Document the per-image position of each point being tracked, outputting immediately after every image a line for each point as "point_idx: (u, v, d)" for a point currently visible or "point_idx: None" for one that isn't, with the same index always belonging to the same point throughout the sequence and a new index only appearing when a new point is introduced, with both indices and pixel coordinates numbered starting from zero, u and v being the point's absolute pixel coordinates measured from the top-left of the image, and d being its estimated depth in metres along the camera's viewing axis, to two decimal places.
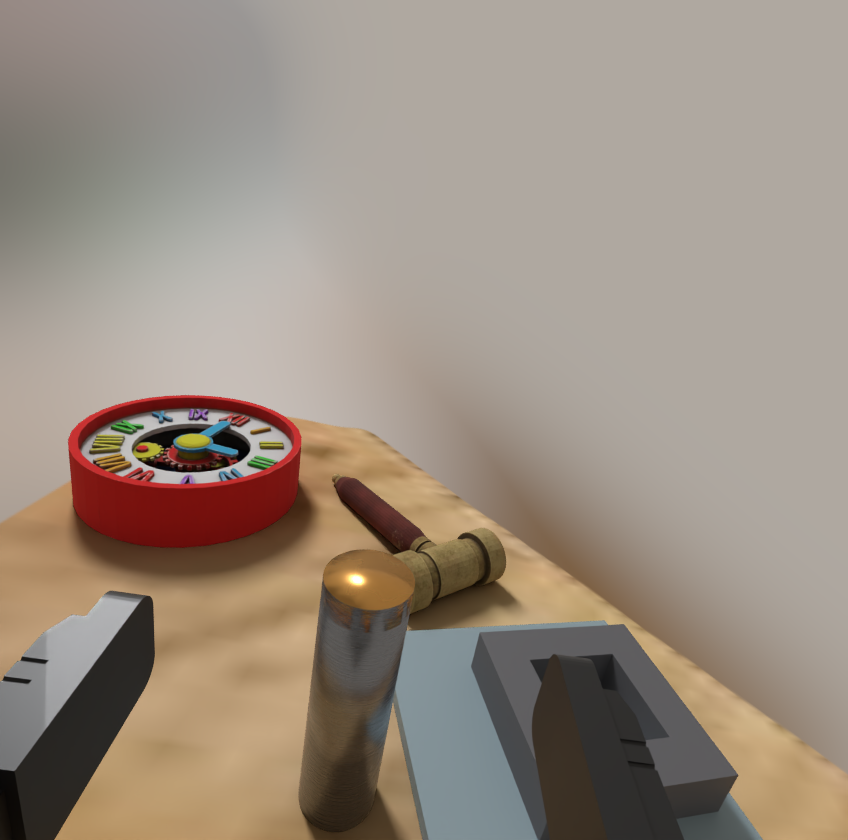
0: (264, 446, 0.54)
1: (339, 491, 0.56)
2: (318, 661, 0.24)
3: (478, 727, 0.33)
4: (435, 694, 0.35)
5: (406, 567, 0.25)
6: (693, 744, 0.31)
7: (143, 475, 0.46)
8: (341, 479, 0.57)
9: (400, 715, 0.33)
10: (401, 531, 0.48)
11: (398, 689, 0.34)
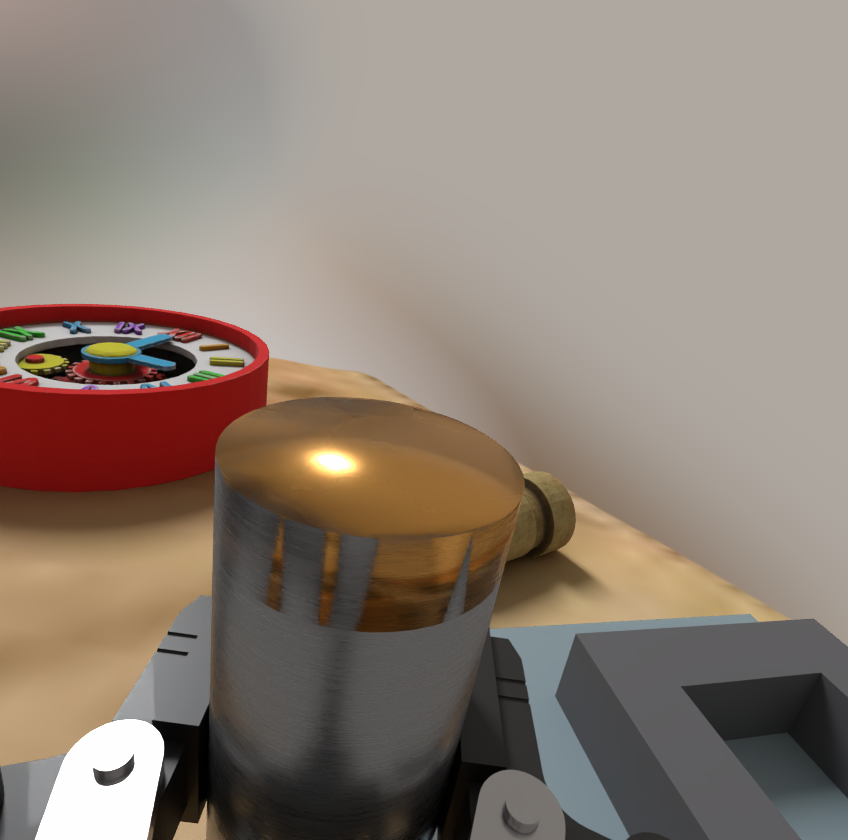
0: (216, 362, 0.38)
1: None
2: (213, 724, 0.08)
3: (592, 827, 0.16)
4: None
5: (484, 437, 0.08)
6: None
7: (19, 383, 0.30)
8: None
9: None
10: None
11: None
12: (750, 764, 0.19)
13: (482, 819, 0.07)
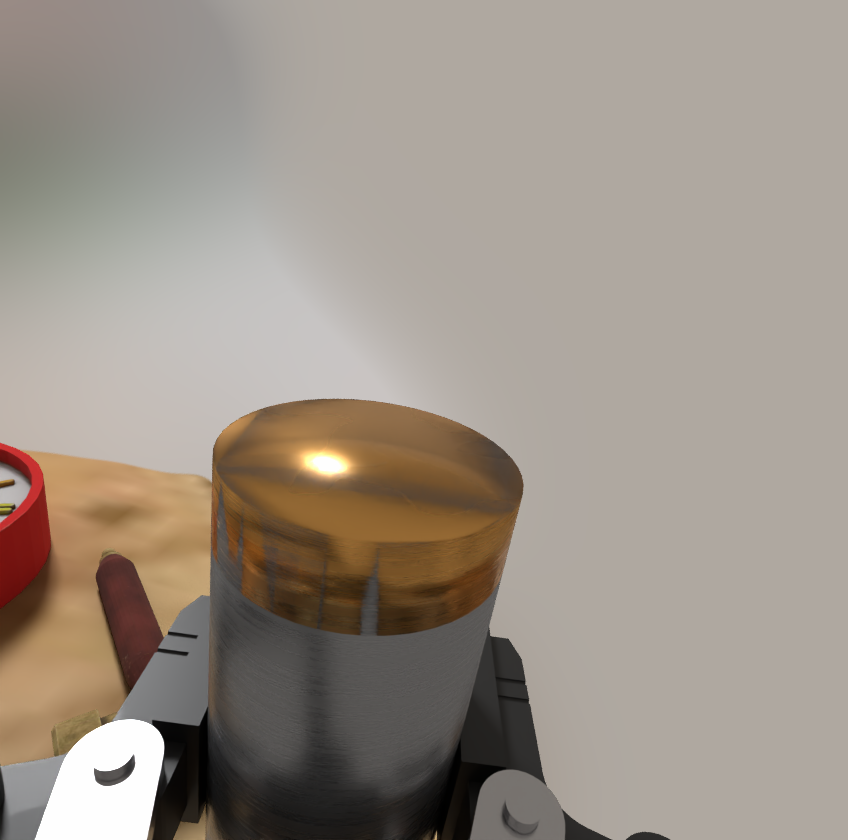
0: None
1: (96, 578, 0.39)
2: (211, 727, 0.08)
3: None
4: None
5: (483, 439, 0.08)
6: None
7: None
8: (105, 559, 0.40)
9: None
10: (131, 658, 0.32)
11: None
12: None
13: (482, 819, 0.07)
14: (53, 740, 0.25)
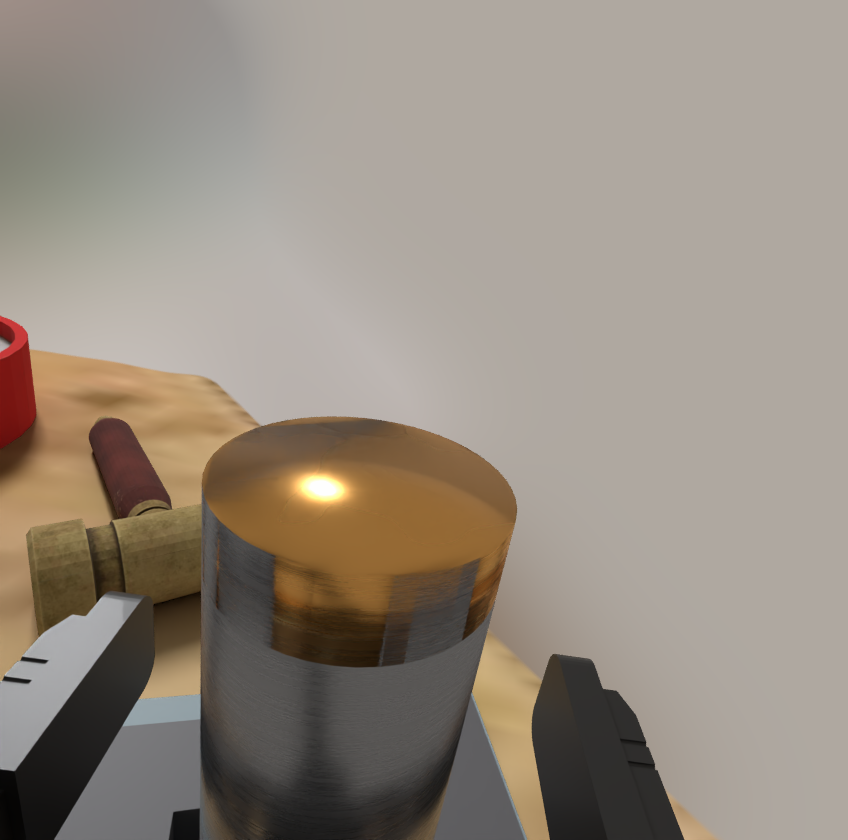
0: None
1: (89, 437, 0.36)
2: (203, 751, 0.08)
3: None
4: None
5: (477, 458, 0.08)
6: None
7: None
8: (99, 420, 0.37)
9: None
10: (124, 491, 0.28)
11: None
12: None
13: None
14: (27, 536, 0.22)
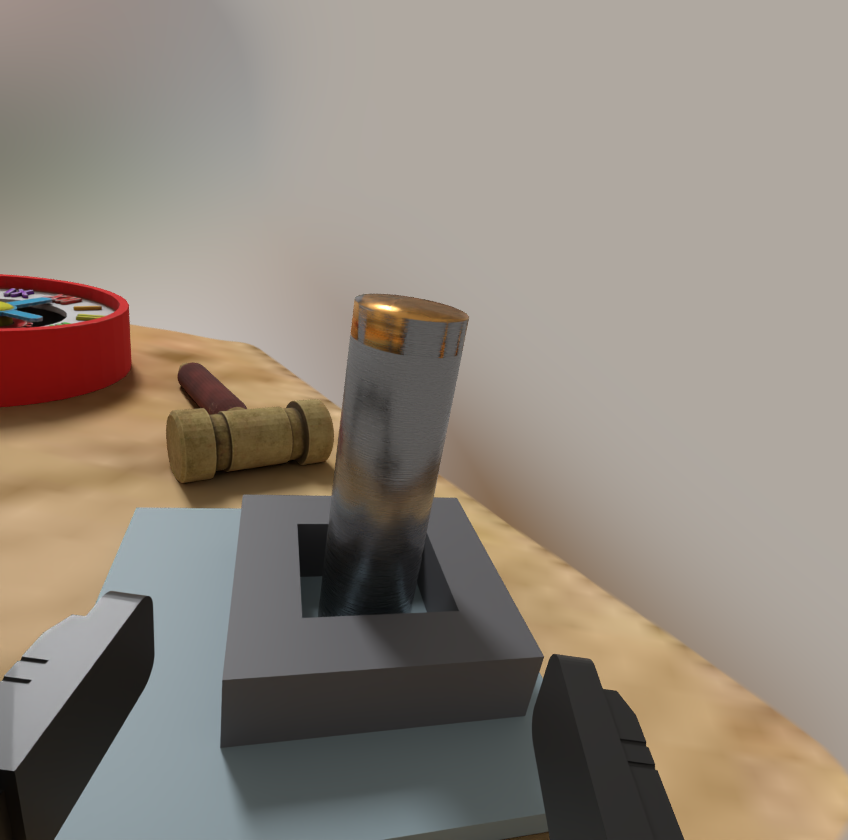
0: (81, 317, 0.47)
1: (178, 376, 0.48)
2: (347, 417, 0.19)
3: (209, 609, 0.23)
4: (168, 572, 0.25)
5: (455, 308, 0.20)
6: (491, 620, 0.21)
7: None
8: (184, 365, 0.49)
9: (101, 593, 0.24)
10: (217, 402, 0.40)
11: (116, 565, 0.25)
12: None
13: None
14: (172, 414, 0.34)
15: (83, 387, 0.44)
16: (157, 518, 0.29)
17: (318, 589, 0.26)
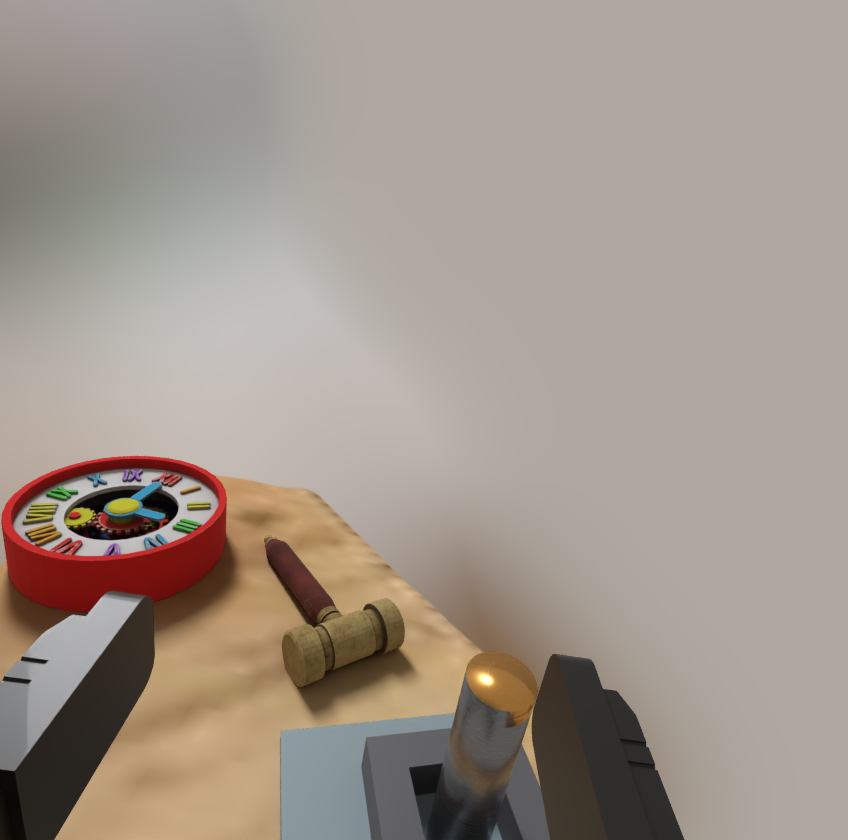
0: (191, 507, 0.59)
1: (267, 554, 0.59)
2: (459, 745, 0.31)
3: (354, 836, 0.35)
4: (319, 800, 0.36)
5: (526, 667, 0.31)
6: None
7: (71, 546, 0.50)
8: (270, 542, 0.60)
9: (281, 825, 0.35)
10: (311, 600, 0.52)
11: (284, 796, 0.36)
12: None
13: None
14: (292, 637, 0.45)
15: (200, 574, 0.55)
16: (298, 741, 0.40)
17: (421, 809, 0.37)
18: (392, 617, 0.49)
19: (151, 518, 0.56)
